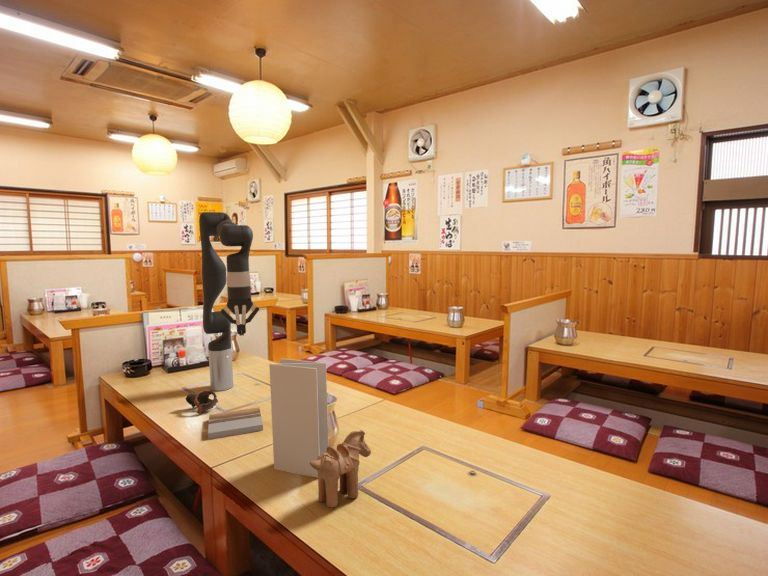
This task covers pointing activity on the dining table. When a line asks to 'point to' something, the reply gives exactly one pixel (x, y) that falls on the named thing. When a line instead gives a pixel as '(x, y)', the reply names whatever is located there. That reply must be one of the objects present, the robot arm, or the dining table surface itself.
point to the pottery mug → (202, 400)
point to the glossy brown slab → (234, 415)
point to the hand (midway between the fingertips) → (241, 335)
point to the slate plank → (235, 427)
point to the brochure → (298, 414)
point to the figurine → (340, 468)
